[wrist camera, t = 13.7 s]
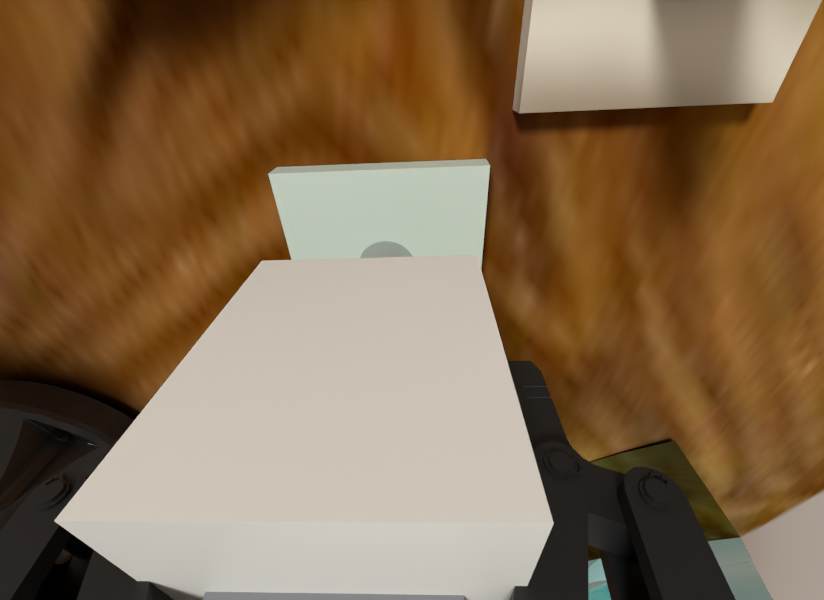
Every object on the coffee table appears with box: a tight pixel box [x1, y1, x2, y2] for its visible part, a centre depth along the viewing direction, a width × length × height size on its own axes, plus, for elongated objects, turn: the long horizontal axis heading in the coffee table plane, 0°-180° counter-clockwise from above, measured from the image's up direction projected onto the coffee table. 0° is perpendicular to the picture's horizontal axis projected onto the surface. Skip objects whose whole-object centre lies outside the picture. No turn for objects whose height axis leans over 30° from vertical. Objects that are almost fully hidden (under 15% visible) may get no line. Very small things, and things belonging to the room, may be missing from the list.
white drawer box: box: [54, 255, 554, 600], centre depth 10 cm, size 7×7×9 cm
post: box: [268, 159, 490, 268], centre depth 14 cm, size 10×10×12 cm
